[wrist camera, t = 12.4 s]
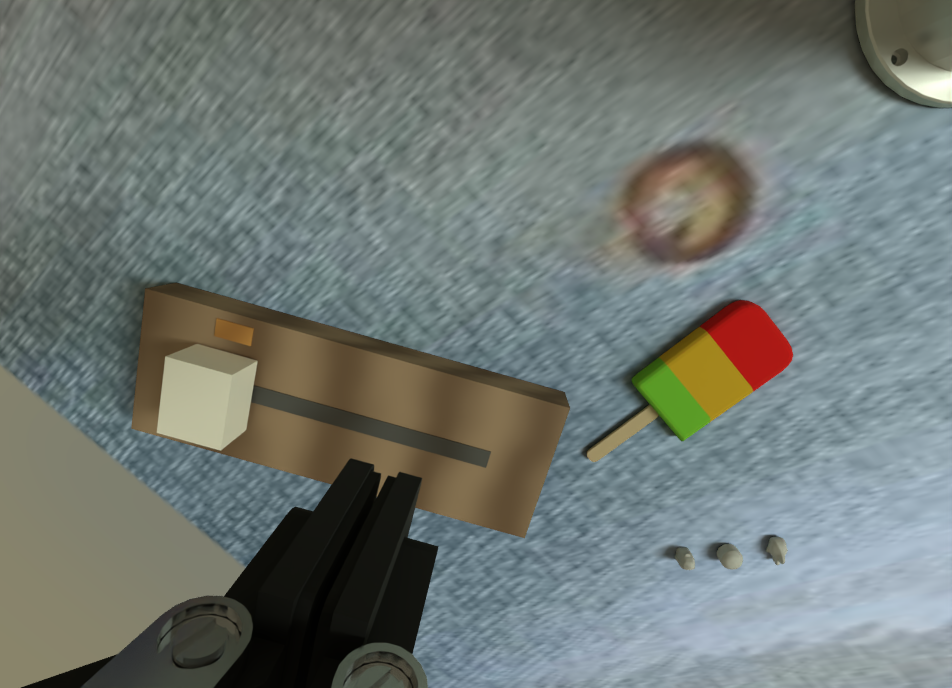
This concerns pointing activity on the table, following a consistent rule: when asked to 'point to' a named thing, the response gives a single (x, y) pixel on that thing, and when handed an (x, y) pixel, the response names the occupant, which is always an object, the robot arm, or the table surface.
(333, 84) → the table surface
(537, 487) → the console
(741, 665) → the table surface
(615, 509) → the table surface
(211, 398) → the fader knob
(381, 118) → the table surface
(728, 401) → the popsicle
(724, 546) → the game pieces
